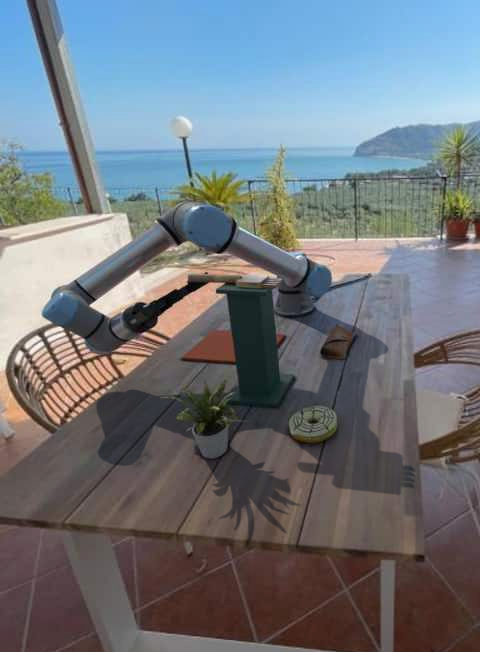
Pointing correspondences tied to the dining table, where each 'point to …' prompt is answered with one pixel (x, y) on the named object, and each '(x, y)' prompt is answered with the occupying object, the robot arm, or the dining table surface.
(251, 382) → the stand
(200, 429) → the house plant
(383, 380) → the dining table surface
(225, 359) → the mat
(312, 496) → the dining table surface
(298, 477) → the dining table surface
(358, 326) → the dining table surface
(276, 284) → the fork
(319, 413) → the decorated donut
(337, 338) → the sunglasses case
